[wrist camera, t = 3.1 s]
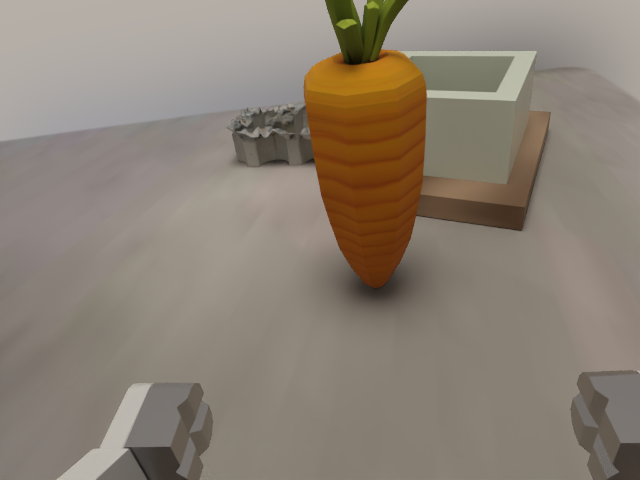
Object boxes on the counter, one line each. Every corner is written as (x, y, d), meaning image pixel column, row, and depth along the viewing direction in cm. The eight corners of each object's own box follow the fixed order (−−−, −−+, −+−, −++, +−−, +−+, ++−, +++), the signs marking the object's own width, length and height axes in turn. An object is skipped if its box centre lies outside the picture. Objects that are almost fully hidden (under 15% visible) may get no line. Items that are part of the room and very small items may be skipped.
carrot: (390, 246, 28) (376, -66, 19) (447, 295, 24) (460, -68, 15) (311, 279, 26) (257, -45, 17) (359, 336, 22) (319, -42, 14)
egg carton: (373, 130, 42) (370, 83, 40) (360, 170, 36) (357, 117, 34) (256, 133, 45) (248, 88, 42) (227, 171, 39) (215, 121, 36)
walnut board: (328, 202, 32) (325, 182, 31) (396, 121, 42) (396, 104, 41) (521, 230, 27) (525, 207, 26) (547, 131, 37) (550, 112, 36)
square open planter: (357, 168, 33) (351, 94, 30) (402, 115, 39) (400, 51, 36) (506, 184, 29) (515, 100, 26) (528, 122, 35) (537, 51, 32)
